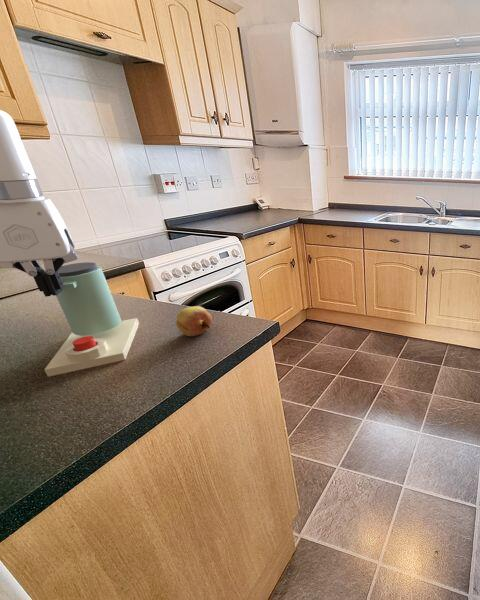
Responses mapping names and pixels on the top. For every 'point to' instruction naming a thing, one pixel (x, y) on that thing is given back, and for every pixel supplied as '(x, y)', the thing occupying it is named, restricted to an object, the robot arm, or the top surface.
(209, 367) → the top surface
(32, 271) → the robot arm
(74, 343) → the switch
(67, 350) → the kettle base
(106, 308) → the kettle
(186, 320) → the fruit
